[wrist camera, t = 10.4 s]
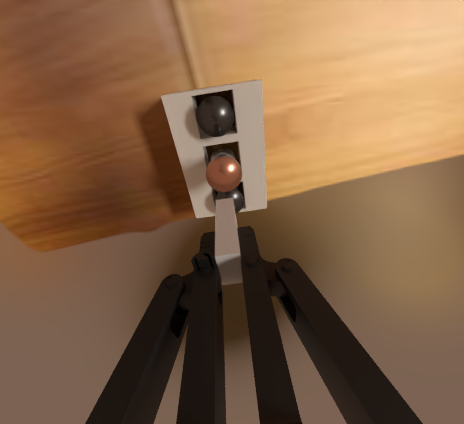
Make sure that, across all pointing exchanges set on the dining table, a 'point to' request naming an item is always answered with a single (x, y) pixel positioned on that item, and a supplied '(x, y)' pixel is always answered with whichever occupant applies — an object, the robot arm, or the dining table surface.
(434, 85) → the dining table surface
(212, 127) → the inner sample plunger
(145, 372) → the robot arm
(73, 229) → the dining table surface
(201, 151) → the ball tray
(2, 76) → the dining table surface
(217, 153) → the plunger
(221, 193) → the plunger
